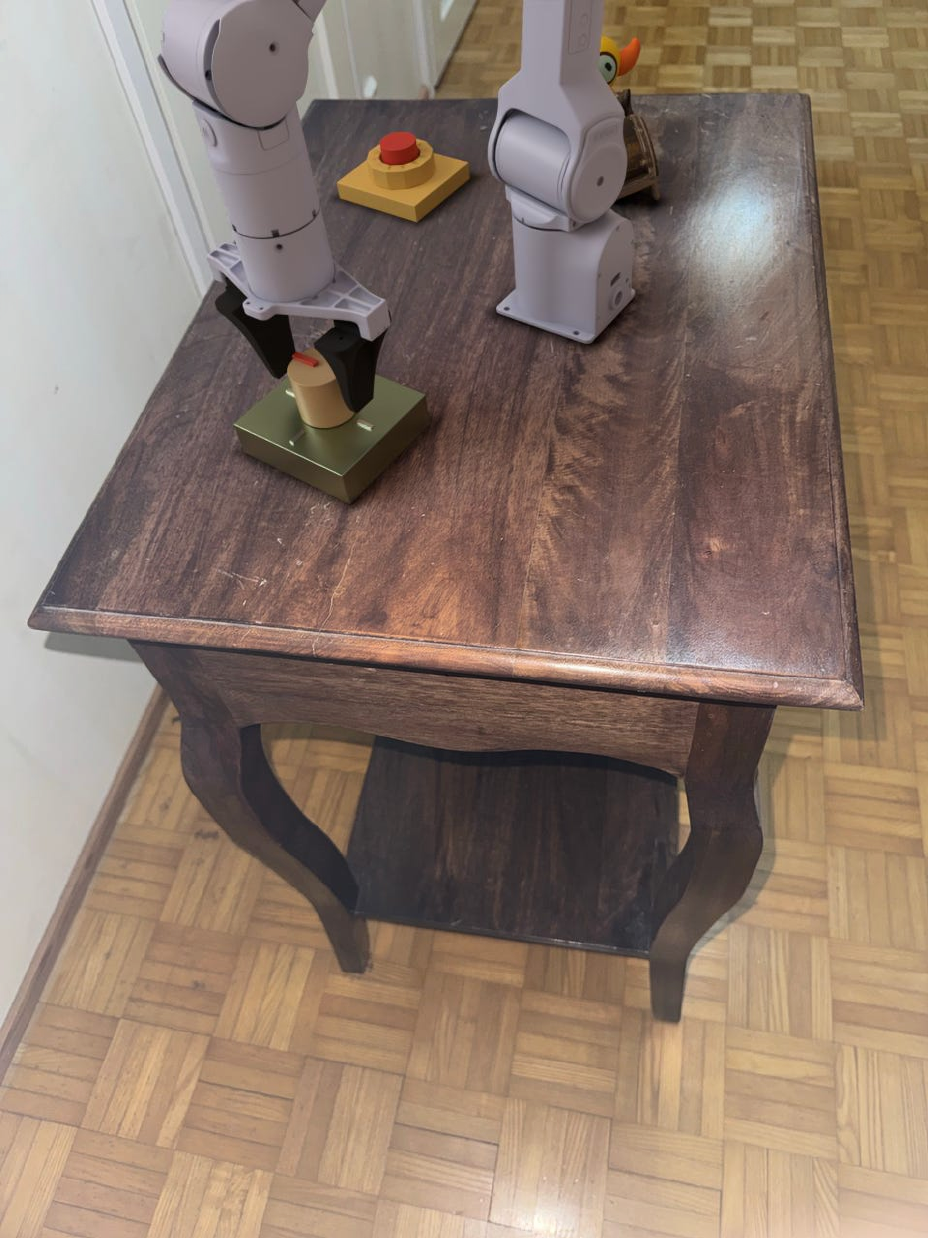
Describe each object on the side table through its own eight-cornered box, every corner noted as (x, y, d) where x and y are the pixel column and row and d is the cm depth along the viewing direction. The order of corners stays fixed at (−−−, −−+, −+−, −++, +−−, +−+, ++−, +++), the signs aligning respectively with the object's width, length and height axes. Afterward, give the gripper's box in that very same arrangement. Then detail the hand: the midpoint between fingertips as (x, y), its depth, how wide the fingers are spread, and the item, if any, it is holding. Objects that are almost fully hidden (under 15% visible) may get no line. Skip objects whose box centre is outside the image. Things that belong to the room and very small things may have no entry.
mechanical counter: (665, 175, 79) (677, 95, 83) (520, 160, 81) (538, 82, 84) (652, 238, 86) (664, 162, 89) (519, 223, 87) (536, 148, 91)
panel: (430, 424, 71) (425, 392, 69) (350, 505, 67) (341, 474, 64) (325, 379, 76) (317, 348, 73) (244, 452, 71) (231, 422, 69)
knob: (369, 400, 69) (358, 354, 65) (332, 435, 67) (319, 389, 63) (325, 382, 71) (313, 336, 67) (288, 415, 69) (273, 370, 65)
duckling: (623, 119, 96) (628, 14, 88) (646, 141, 93) (653, 34, 85) (524, 147, 95) (520, 42, 87) (544, 170, 92) (541, 64, 84)
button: (425, 153, 90) (423, 135, 89) (403, 170, 88) (400, 153, 87) (397, 146, 91) (394, 128, 90) (375, 162, 90) (371, 145, 88)
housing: (470, 178, 92) (466, 143, 90) (417, 222, 88) (411, 187, 86) (393, 156, 96) (388, 123, 94) (339, 198, 92) (332, 164, 90)
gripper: (149, 216, 57) (216, 386, 68) (320, 278, 51) (363, 454, 62) (226, 163, 60) (278, 334, 71) (396, 217, 55) (424, 394, 65)
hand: (322, 387), depth 67 cm, fingers open, 7 cm apart
